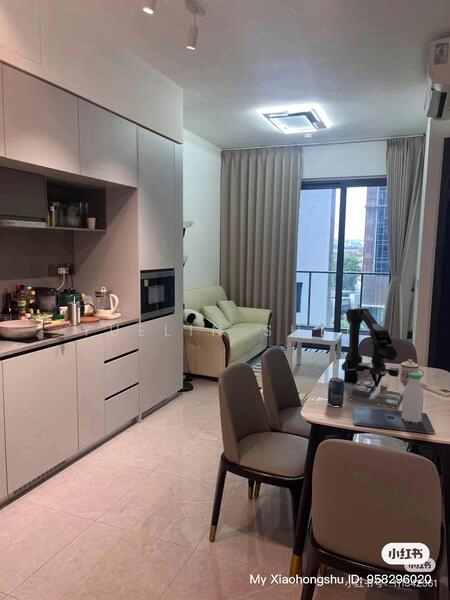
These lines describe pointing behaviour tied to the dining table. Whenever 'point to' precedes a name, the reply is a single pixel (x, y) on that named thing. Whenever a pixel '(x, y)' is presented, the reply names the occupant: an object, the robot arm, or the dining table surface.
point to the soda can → (336, 392)
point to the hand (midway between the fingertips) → (376, 387)
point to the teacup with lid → (408, 370)
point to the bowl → (367, 361)
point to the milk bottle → (413, 399)
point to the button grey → (362, 388)
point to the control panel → (376, 395)
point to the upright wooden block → (383, 388)
